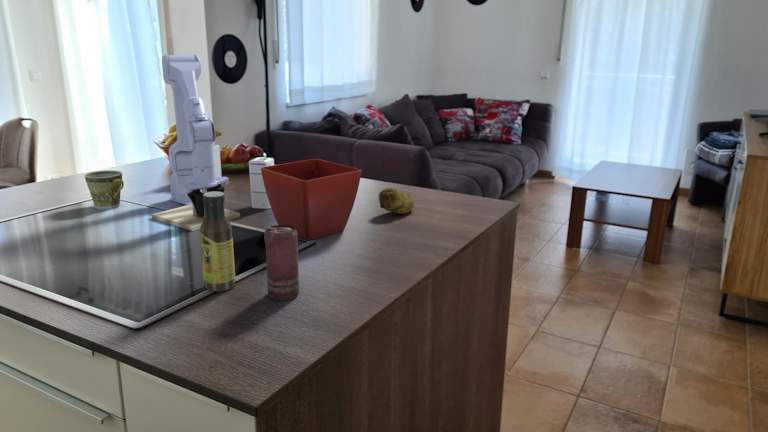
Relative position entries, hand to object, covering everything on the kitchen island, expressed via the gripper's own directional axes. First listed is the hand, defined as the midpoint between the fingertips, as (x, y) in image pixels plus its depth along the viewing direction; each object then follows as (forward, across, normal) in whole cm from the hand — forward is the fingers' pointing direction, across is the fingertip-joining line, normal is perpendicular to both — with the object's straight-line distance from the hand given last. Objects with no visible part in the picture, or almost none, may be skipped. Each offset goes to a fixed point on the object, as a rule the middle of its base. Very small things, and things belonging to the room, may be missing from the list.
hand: (207, 214), depth 161 cm
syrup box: (+2, +20, -1) cm, 20 cm away
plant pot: (+2, +12, -28) cm, 30 cm away
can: (+2, -22, -51) cm, 55 cm away
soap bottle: (+2, +28, +37) cm, 47 cm away
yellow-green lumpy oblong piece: (+2, +39, -37) cm, 54 cm away
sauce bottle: (+2, -27, -38) cm, 47 cm away
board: (+2, 0, +5) cm, 5 cm away
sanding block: (+1, 0, 0) cm, 1 cm away
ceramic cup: (+2, -9, +33) cm, 34 cm away
